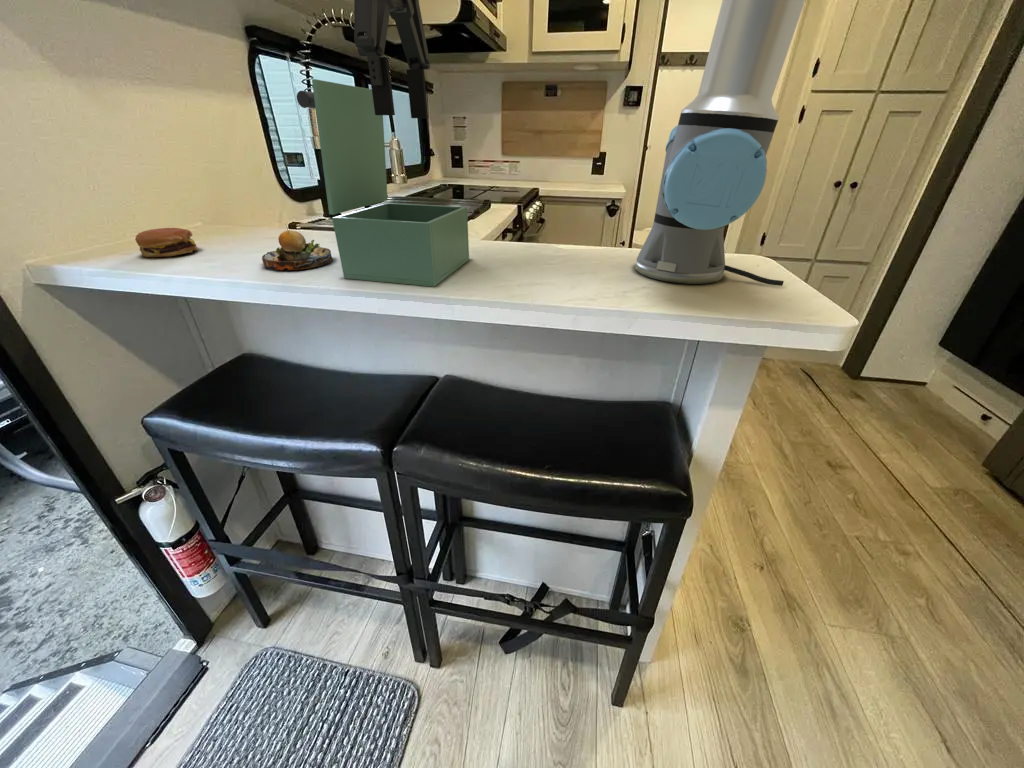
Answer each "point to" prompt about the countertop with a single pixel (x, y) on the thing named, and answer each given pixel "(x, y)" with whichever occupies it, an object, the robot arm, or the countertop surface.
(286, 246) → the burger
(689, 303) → the countertop surface
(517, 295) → the countertop surface
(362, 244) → the cool box
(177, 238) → the burger
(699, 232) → the robot arm
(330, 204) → the cool box lid
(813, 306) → the countertop surface
